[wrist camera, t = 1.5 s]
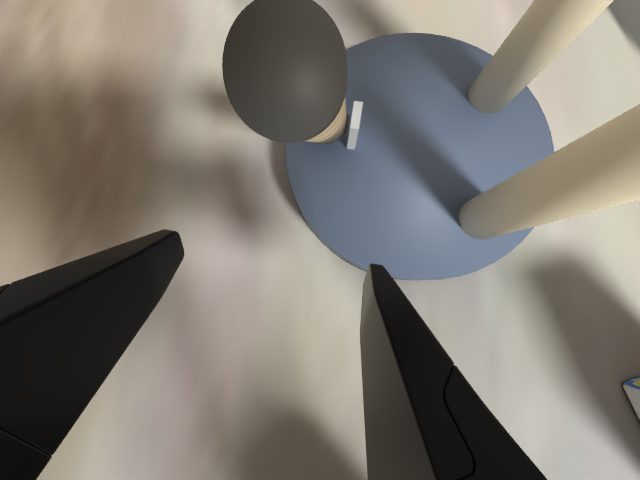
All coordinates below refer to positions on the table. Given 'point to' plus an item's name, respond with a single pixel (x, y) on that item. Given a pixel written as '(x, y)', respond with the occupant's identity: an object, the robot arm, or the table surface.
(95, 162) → the table surface
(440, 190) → the round peg stand
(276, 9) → the hinged leg
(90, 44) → the table surface
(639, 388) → the ink cartridge box
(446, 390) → the robot arm
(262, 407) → the table surface
